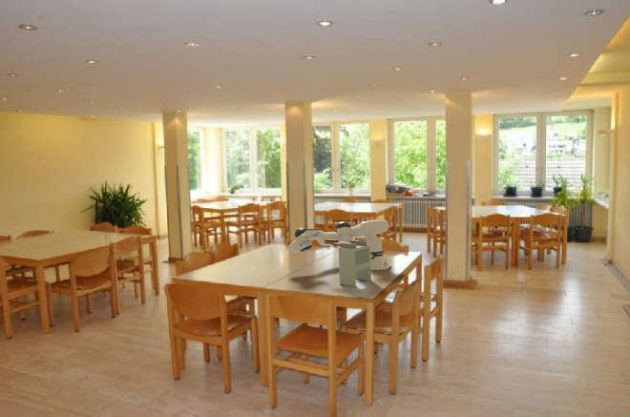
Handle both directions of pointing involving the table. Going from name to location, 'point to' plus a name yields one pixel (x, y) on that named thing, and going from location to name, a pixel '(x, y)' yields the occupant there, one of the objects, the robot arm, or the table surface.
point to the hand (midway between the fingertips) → (315, 233)
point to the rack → (354, 261)
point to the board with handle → (335, 242)
